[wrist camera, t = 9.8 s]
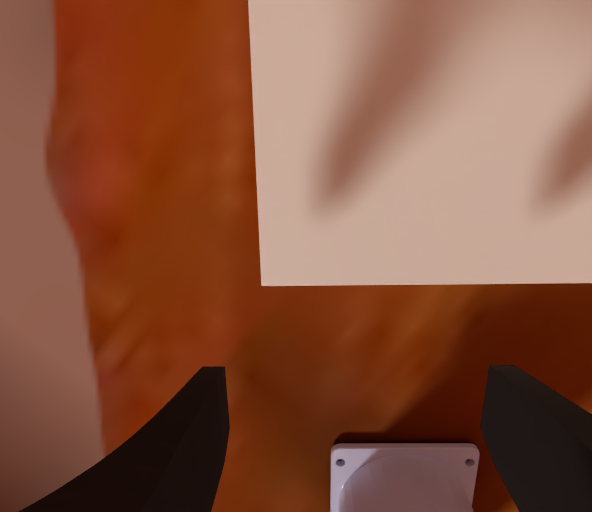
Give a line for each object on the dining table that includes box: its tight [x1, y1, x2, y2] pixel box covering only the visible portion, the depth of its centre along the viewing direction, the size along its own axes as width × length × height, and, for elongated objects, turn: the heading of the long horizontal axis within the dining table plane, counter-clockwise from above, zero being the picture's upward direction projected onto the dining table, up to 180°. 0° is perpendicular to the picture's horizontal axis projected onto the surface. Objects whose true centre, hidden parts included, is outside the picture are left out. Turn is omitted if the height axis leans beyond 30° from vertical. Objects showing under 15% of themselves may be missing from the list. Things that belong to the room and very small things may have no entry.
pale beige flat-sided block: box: [248, 0, 592, 286], centre depth 17 cm, size 10×22×4 cm, turn 91°
